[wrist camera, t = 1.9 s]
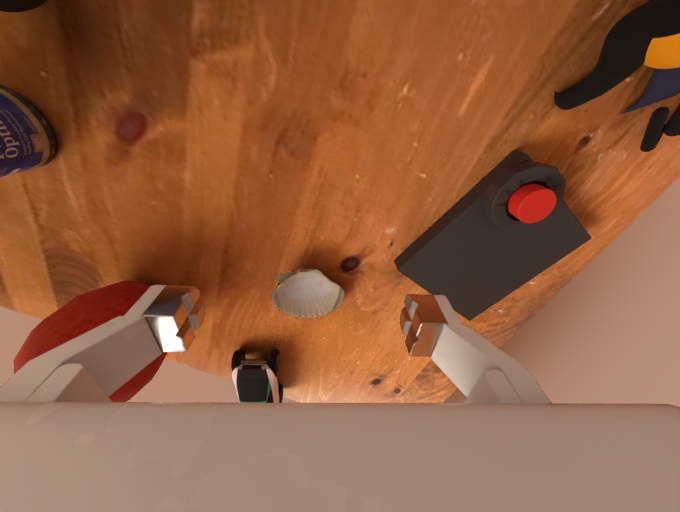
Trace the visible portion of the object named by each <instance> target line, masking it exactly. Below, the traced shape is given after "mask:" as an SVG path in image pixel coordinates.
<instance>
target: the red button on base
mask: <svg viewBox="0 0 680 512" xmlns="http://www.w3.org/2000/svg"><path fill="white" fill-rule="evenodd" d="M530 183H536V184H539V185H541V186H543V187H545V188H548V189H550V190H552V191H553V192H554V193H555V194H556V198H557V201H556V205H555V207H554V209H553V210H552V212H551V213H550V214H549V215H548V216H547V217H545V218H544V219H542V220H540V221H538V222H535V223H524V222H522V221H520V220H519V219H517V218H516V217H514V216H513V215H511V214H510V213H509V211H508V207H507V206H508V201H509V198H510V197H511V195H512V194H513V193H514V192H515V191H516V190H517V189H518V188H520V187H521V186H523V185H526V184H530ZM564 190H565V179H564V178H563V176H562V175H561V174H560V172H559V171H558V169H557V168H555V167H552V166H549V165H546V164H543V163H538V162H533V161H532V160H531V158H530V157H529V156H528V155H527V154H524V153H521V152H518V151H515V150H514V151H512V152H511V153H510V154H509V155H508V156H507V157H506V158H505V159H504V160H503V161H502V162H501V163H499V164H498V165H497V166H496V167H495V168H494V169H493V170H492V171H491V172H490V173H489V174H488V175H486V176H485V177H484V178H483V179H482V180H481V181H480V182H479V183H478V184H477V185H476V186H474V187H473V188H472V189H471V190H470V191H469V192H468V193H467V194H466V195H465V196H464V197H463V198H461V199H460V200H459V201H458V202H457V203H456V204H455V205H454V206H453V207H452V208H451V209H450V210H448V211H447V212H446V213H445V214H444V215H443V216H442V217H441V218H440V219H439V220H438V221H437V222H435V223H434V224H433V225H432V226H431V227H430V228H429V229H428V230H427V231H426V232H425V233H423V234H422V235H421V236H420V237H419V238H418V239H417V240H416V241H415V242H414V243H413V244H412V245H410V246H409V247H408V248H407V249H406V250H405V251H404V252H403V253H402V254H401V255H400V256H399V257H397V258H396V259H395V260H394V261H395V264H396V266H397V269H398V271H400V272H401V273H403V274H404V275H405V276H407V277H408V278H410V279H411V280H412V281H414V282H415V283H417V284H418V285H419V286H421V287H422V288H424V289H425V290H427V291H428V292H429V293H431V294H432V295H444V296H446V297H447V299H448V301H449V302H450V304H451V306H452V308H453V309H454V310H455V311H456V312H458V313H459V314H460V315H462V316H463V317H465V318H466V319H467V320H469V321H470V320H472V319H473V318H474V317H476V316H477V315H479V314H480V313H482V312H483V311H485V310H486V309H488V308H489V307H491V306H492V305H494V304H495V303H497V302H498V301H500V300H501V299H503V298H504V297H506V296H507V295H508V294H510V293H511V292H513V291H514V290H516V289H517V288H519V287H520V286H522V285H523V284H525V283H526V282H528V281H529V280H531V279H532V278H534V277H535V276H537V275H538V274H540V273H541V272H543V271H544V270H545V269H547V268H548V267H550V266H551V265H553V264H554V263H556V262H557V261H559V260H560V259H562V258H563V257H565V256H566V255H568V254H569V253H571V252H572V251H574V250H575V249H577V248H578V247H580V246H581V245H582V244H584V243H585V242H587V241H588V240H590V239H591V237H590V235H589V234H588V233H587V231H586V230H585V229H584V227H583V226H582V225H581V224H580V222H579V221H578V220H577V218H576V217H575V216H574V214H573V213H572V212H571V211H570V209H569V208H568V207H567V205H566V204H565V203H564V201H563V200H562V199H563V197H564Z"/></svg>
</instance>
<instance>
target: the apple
mask: <svg viewBox="0 0 680 512" xmlns="http://www.w3.org/2000/svg"><path fill="white" fill-rule="evenodd" d="M150 287H151V285H147V284H144V283H138V282H131V281H123V282H119V283H115V284H112V285H109V286H106V287H103V288H100V289H97V290H94V291H91V292H88V293H85V294H82V295H79V296H77V297H76V298H74V299H73V300H71V301H70V302H69V303H67V304H66V305H64V306H63V307H61V308H60V309H59V310H57V311H56V312H54V313H53V314H51V315H50V316H48V317H47V318H46V319H44V320H43V321H42V322H41V323H40V324H39V325H37V326H36V328H34V329H33V330H32V331H31V332H30V334H29V336H28V337H27V339H26V341H25V342H24V344H23V346H22V347H21V349H20V351H19V352H18V354H17V356H16V357H15V359H14V374H15V373H16V372H17V371H18V370H19V369H21V368H22V367H23V366H24V365H25V364H26V363H27V362H28V361H30V360H32V359H34V358H36V357H38V356H40V355H42V354H44V353H46V352H48V351H50V350H52V349H54V348H56V347H58V346H60V345H62V344H64V343H66V342H68V341H70V340H72V339H74V338H76V337H78V336H80V335H82V334H84V333H86V332H88V331H90V330H92V329H94V328H96V327H98V326H100V325H102V324H104V323H106V322H108V321H110V320H112V319H114V318H116V317H118V316H124V315H125V314H126V313H127V312H128V311H129V310H130V308H131V307H132V306H133V305H134V304H135V303H136V302H137V301H138V300H139V299H140V297H141V296H142V295H143V294H144V293H145V292H146V291H147V290H148V289H149V288H150ZM167 353H168V352H162V354H161V355H160V356H158V357H157V358H156V359H155V360H153V361H152V362H151V363H150V364H148V365H147V366H146V367H145V368H143V369H142V370H141V371H140V372H138V373H137V374H136V375H135V376H134V377H132V378H131V379H130V380H129V381H127V382H126V383H125V384H124V385H122V386H121V387H120V388H119V389H117V390H116V391H115V392H114V393H112V394H111V395H110V396H109V398H110V400H111V401H112V402H126V401H128V400H130V399H131V398H132V397H133V396H134V395H135V394H136V393H137V392H139V391H140V390H141V389H142V388H143V387H144V386H145V385H146V384H147V383H148V382H150V381H151V380H152V378H153V377H154V375H155V374H156V372H157V371H158V369H159V367H160V366H161V364H162V362H163V360H164V358H165V356H166V355H167Z"/></svg>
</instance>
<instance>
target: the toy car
mask: <svg viewBox="0 0 680 512" xmlns="http://www.w3.org/2000/svg"><path fill="white" fill-rule="evenodd" d="M279 358H280V357H279V351H278V350H273V351H271V353H270V358H268V359H265V360H264V359H245V352H244V351H243V350H236V351H235V352H234V355H233V358H232V364H231V366H232V371H233V373H232V379H233V382H234V385H235V388H236V392H237V395H238V398H239V402H240V403H282V398H283V385H278V382H277V376H276V372H277V370H278V367H279ZM246 360H247V361H246ZM266 360H268V361H266ZM268 362H269V363H268ZM267 364H268V365H267ZM268 366H269V367H268Z"/></svg>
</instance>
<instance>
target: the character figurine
mask: <svg viewBox="0 0 680 512" xmlns="http://www.w3.org/2000/svg"><path fill="white" fill-rule="evenodd" d="M642 65H645V66H648V67H651V68H656V69H655V71H654V73H653V75H652V77H651V79H650V81H649V84H648V86H647V88H646V90H645V92H644V95H643V96H642V97H641V99H640V100H639V101H638V102H637V103H636V104H634V105H633V106H631V107H629V108H628V109H627V110H625V111H624V112H622V113H625V112H629V111H632V110H635V109H638V108H641V107H644V106H647V105H650V104H653V103H656V102H658V101H661V100H664V99H667V98H670V97H672V96H674V95H676V94H679V93H680V0H648V2H647V3H646V4H644V5H642V6H640V7H638V8H637V9H635V10H633V11H632V12H630V13H629V14H627V15H626V16H624V17H623V18H622V19H621V20H619V21H618V22H617V23H616V24H615V25H614V26H613V27H612V29H611V30H610V32H609V33H608V35H607V37H606V39H605V42H604V45H603V48H602V51H601V55H600V58H599V62H598V64H597V66H596V67H595V69H594V70H593V71H592V72H591V73H590V74H589V75H588V76H587V77H586V78H585V79H584V80H583V81H581V82H580V83H579V84H577V85H575V86H574V87H572V88H570V89H568V90H567V91H565V92H562V93H557V92H555V95H554V100H555V103H556V105H557V106H558V107H559V108H561V109H563V110H567V109H572V108H574V107H577V106H579V105H582V104H584V103H586V102H588V101H590V100H592V99H594V98H597V97H599V96H601V95H603V94H604V93H606V92H607V91H609V90H610V89H612V88H613V87H615V86H616V85H618V84H619V83H620V82H622V81H623V80H624V79H626V78H627V77H629V76H630V75H631V74H632V73H633V72H635V71H636V70H637V69H638V68H639V67H640V66H642ZM669 112H670V110H669V108H667V107H660V108H658V109H656V110H655V111H654V112H653V113H652V116H651V118H650V121H649V124H648V126H647V129H646V132H645V135H644V137H643V140H642V143H641V147H640V149H641V150H642V151H643V152H648V151H651V150H653V149H654V148H655V147H656V145H657V144H658V142H659V140H660V138H661V136H662V134H663V132H664V133H665V134H666V135H667V136H677V135H680V104H679V105H678V107H677V108H676V110H675V111H674V113H673V114H672V116H671V117H670V119H669V120H668V122H667V123H666V124H665V122H666V119H667V117H668V114H669ZM622 113H621V114H622Z"/></svg>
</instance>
